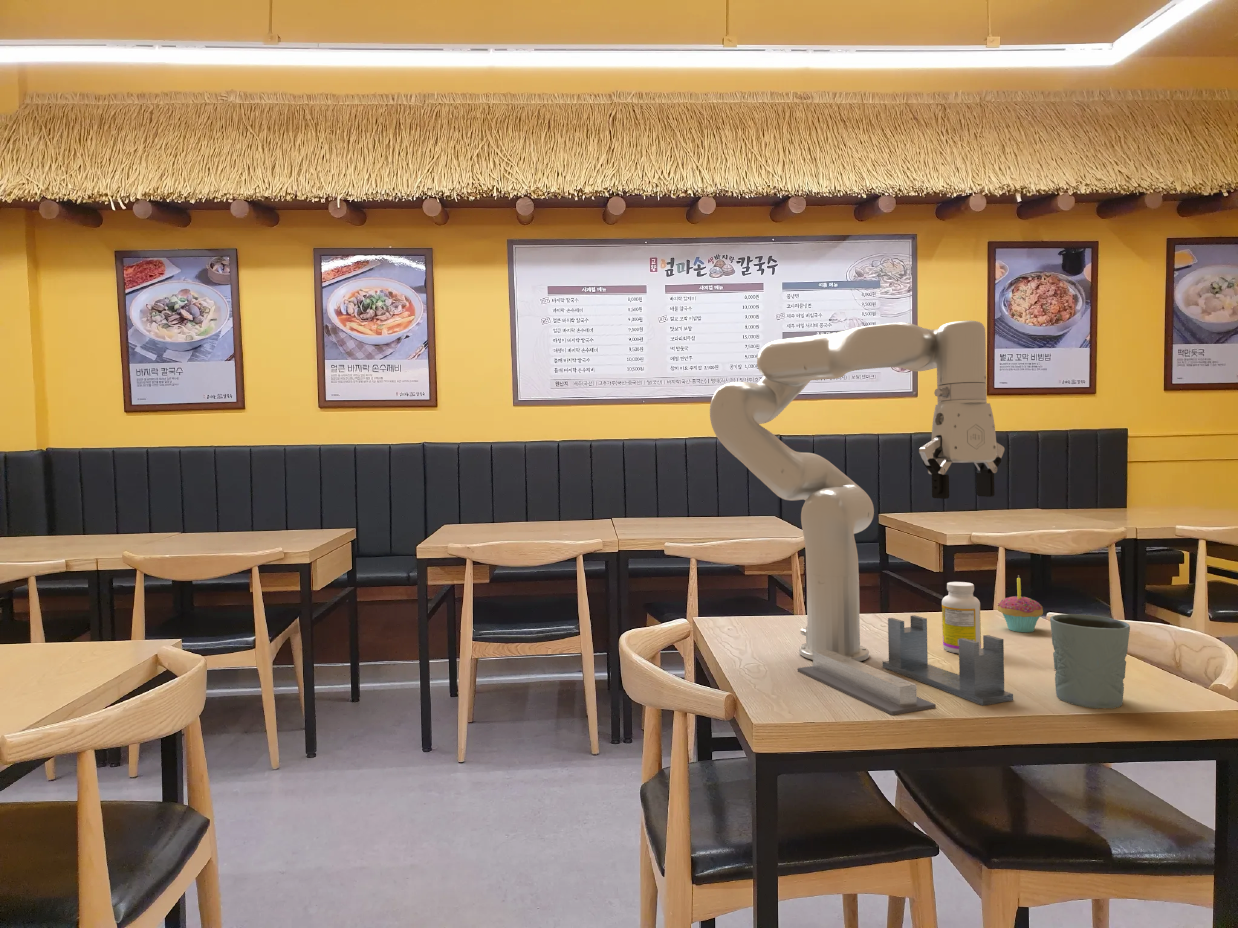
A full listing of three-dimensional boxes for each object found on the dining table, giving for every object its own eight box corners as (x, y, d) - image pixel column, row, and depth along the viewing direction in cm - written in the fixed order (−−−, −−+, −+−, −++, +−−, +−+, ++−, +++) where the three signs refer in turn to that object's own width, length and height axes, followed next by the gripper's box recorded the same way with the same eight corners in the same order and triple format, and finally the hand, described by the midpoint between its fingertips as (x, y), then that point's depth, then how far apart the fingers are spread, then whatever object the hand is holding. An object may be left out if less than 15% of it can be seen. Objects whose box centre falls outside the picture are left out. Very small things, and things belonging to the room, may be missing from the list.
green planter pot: (1036, 692, 114) (1034, 616, 114) (1086, 685, 117) (1085, 611, 117) (1094, 713, 104) (1093, 630, 104) (1148, 706, 107) (1146, 624, 107)
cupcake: (1042, 636, 149) (1041, 577, 149) (995, 631, 154) (994, 574, 154) (1044, 627, 156) (1043, 571, 156) (1000, 623, 161) (999, 569, 161)
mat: (797, 670, 128) (797, 667, 128) (835, 665, 131) (835, 662, 131) (891, 714, 105) (891, 711, 105) (935, 707, 108) (935, 704, 108)
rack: (882, 667, 129) (881, 616, 129) (909, 663, 131) (908, 613, 131) (982, 705, 109) (981, 645, 109) (1013, 700, 111) (1012, 641, 111)
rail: (813, 667, 128) (812, 650, 128) (827, 665, 129) (827, 649, 129) (900, 707, 107) (899, 686, 107) (916, 704, 108) (916, 684, 108)
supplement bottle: (956, 644, 144) (955, 579, 144) (988, 651, 138) (987, 584, 138) (935, 649, 140) (934, 583, 140) (967, 657, 135) (966, 587, 135)
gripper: (937, 393, 116) (939, 500, 116) (1019, 394, 122) (1021, 496, 122) (904, 397, 123) (906, 498, 123) (983, 398, 129) (984, 494, 129)
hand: (963, 497), depth 123 cm, fingers open, 9 cm apart
